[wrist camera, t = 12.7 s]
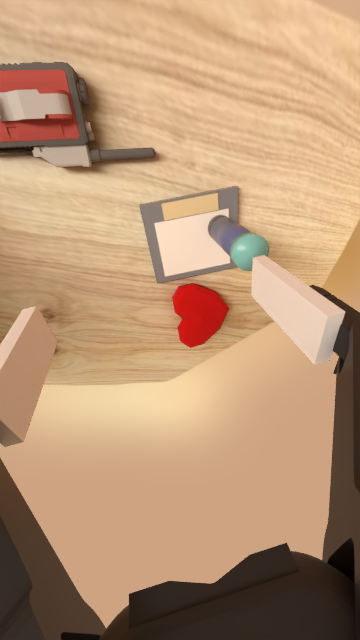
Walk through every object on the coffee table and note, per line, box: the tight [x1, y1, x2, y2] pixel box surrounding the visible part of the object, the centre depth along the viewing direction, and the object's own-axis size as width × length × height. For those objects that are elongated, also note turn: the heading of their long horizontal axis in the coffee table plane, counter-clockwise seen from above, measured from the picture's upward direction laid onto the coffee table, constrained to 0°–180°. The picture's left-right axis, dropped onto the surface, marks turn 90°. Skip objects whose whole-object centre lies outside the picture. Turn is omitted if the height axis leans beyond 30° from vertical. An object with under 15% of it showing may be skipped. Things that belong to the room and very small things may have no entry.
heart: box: [172, 283, 229, 348], centre depth 43 cm, size 12×4×10 cm
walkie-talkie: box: [0, 62, 155, 167], centre depth 26 cm, size 9×4×20 cm
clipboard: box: [140, 186, 238, 283], centre depth 37 cm, size 14×12×1 cm
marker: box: [208, 215, 269, 271], centre depth 31 cm, size 4×4×12 cm
